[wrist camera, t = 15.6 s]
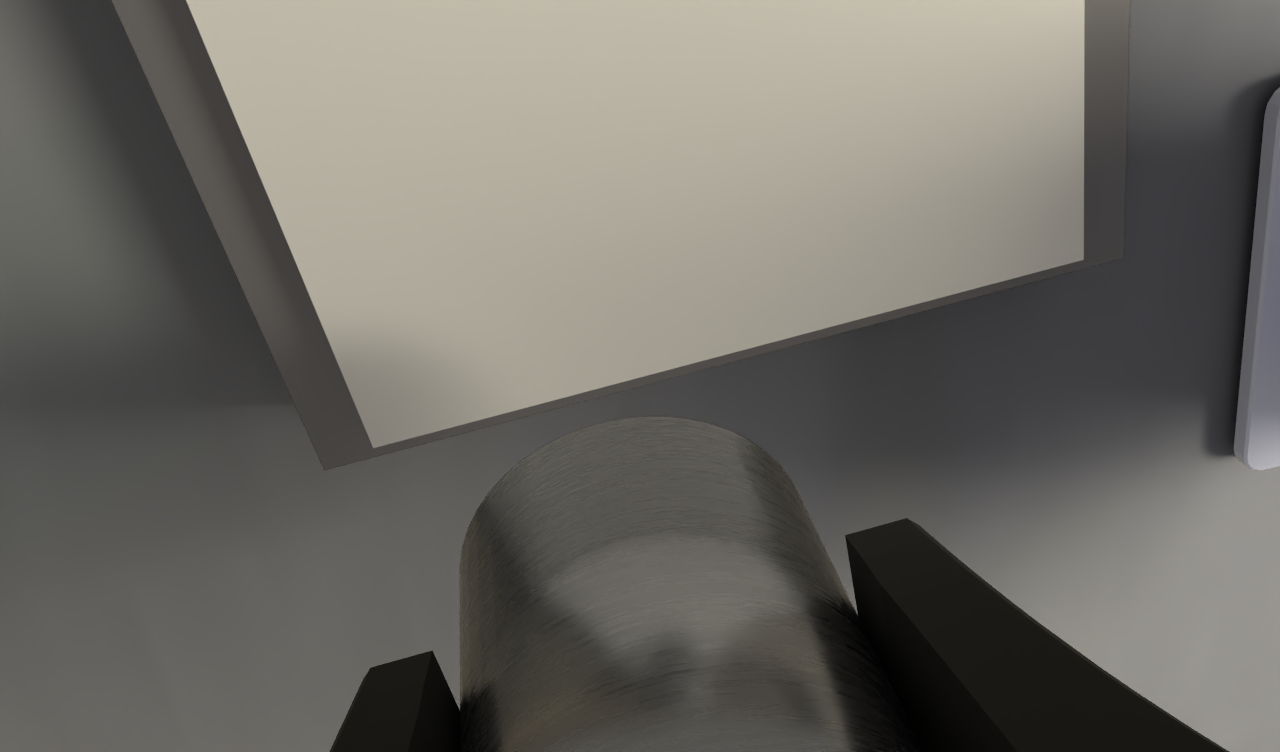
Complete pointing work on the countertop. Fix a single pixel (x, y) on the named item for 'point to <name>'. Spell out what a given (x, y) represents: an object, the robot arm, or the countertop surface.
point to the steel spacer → (661, 606)
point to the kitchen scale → (623, 182)
